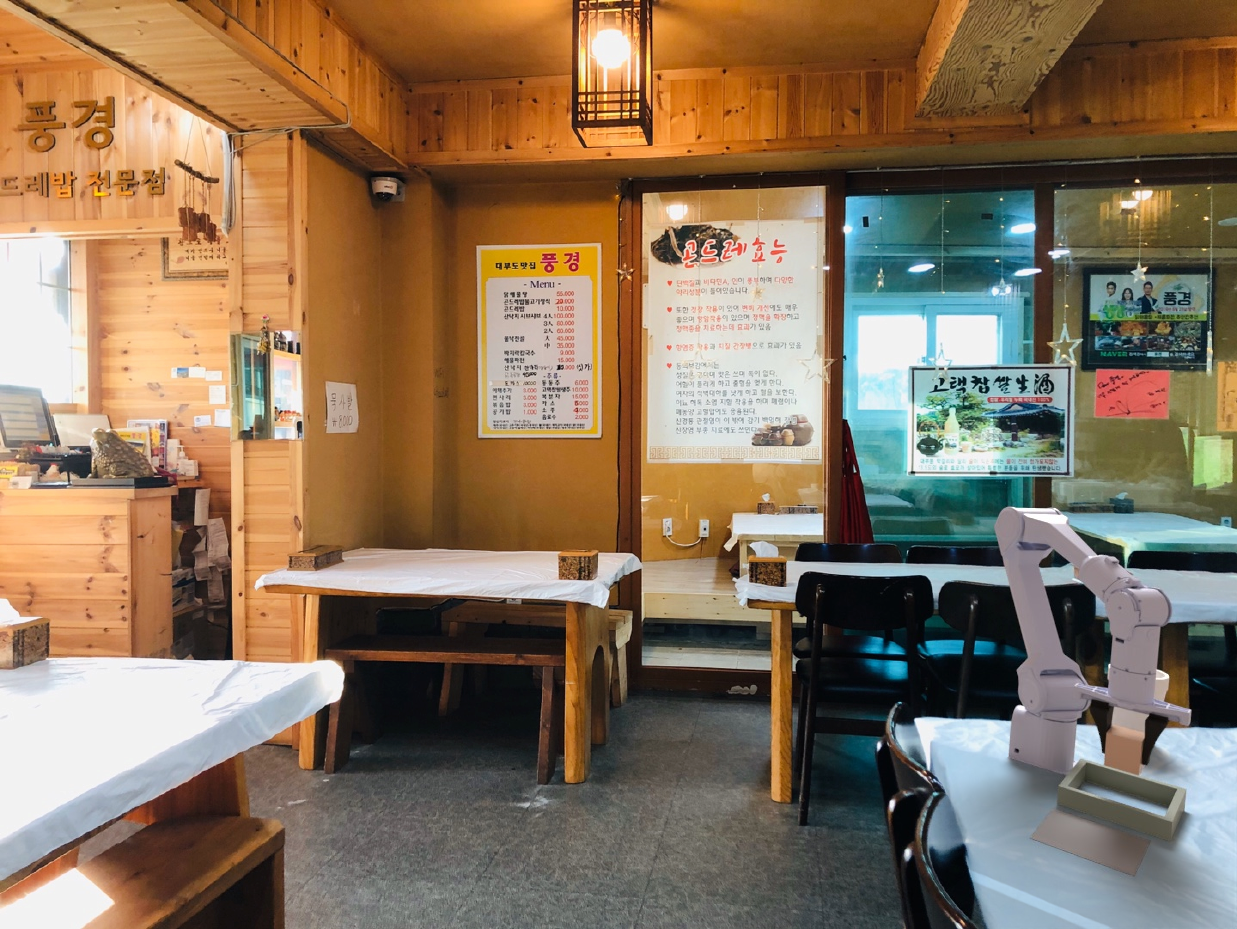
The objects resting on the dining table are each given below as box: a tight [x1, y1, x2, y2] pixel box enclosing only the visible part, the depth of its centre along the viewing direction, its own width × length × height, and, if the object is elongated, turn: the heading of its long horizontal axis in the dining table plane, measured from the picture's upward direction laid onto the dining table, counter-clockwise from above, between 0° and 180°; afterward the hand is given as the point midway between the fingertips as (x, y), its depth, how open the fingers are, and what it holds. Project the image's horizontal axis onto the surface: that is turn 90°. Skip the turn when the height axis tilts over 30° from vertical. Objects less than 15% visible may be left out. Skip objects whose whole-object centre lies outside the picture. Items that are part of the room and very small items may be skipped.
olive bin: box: [1056, 758, 1187, 842], centre depth 116 cm, size 14×14×4 cm
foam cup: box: [1107, 663, 1170, 733], centre depth 144 cm, size 10×9×13 cm
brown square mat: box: [1029, 807, 1151, 877], centre depth 106 cm, size 12×12×1 cm
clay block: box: [1103, 724, 1145, 776], centre depth 115 cm, size 4×4×5 cm
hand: (1125, 757), depth 116 cm, fingers closed on clay block, 4 cm apart
